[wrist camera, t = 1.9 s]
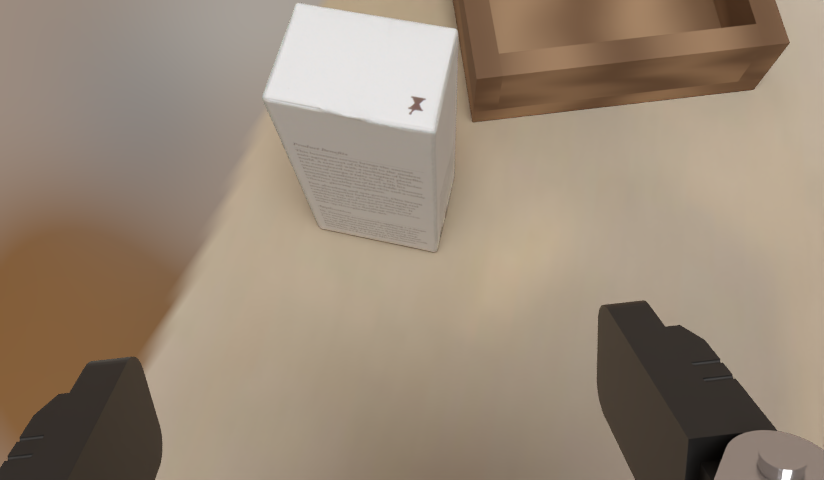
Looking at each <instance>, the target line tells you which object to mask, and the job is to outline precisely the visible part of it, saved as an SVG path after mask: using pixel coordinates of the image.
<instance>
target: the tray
mask: <svg viewBox="0 0 824 480" xmlns="http://www.w3.org/2000/svg"><path fill="white" fill-rule="evenodd" d="M453 3H454V10H455V16H456V22H457V28H458V34H459V41H460V47H461V53H462V59H463V66H464V72H465V78H466V84H467V91H468V97H469V103H470V109H471V115H472V122H478V121H486V120H495V119H503V118H512V117H521V116H529V115H538V114H546V113H555V112H564V111H572V110H581V109H589V108H598V107H607V106H615V105H624V104H632V103H641V102H650V101H658V100H667V99H675V98H684V97H693V96H701V95H710V94H718V93H727V92H736V91H744V90H753V89H754V88H755V87H756V86H757V84H758V83H759V82H760V81H761V79H762V78H763V77H764V75H765V74H766V73H767V72H768V70H769V69H770V68H771V66H772V65H773V64H774V62H775V61H776V60H777V59H778V57H779V56H780V55H781V53H782V52H783V51H784V50H785V48H786V47H787V46H788V44H789V43H790V42H789V39H788V36H787V34H786V31H785V28H784V25H783V22H782V19H781V16H780V13H779V10H778V7H777V4H776V1H775V0H453Z"/></svg>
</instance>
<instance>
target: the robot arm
mask: <svg viewBox="0 0 824 480" xmlns="http://www.w3.org/2000/svg"><path fill="white" fill-rule="evenodd" d="M597 388H598V395H599V400H600V404H601V408H602V411H603V414H604V416H605V418H606V420H607V422H608V424H609V426H610V428H611V431H612V433H613V435H614V437H615V439H616V441H617V443H618V445H619V447H620V449H621V451H622V453H623V455H624V457H625V459H626V462H627V464H628V466H629V468H630V470H631V472H632V474H633V476H634V478H635V480H824V450H823V449H821V448H820V447H818V446H817V445H815V444H813V443H812V442H810V441H808V440H806V439H803V438H801V437H798V436H795V435H792V434H789V433H784V432H780V431H777V430H776V428H775V427H774V426H773V425H772V423H771V422H770V421H769V420H768V418H767V417H766V416H765V415H764V413H763V412H762V411H761V410H760V408H759V407H758V406H757V405H756V403H755V402H754V401H753V400H752V398H751V397H750V396H749V395H748V393H747V392H746V391H745V390H744V388H743V387H742V386H741V385H740V383H739V382H738V381H737V380H736V379H733V376H732V373H731V372H730V371H729V370H728V368H727V367H726V366H725V365H724V363H721V362H720V358H719V357H718V356H717V355H716V353H715V352H714V351H713V350H712V348H711V347H710V346H709V345H708V343H707V342H706V341H705V340H704V339H702V338H700V337H699V336H697V335H695V334H694V333H692V332H690V331H689V330H687V329H685V328H684V327H682V326H680V325H677V326H668V327H665V326H664V324H663V323H662V322H661V320H660V319H659V318H658V316H657V315H656V314H655V312H654V311H653V309H652V308H651V307H650V305H649V304H648V303H647V302H646V301H635V302H626V303H617V304H608V305H602V306H601V307H600V310H599V315H598V352H597ZM161 458H162V434H161V429H160V425H159V422H158V418H157V415H156V411H155V408H154V405H153V401H152V398H151V394H150V391H149V388H148V384H147V381H146V377H145V374H144V371H143V368H142V365H141V363H140V361H139V360H138V359H137V358H136V357H126V358H117V359H108V360H99V361H91V362H89V363H88V364H87V365H86V366H85V368H84V369H83V371H82V373H81V374H80V376H79V378H78V379H77V381H76V383H75V384H74V386H73V388H72V390H71V391H70V393H65V394H58V395H57V396H56V397H55V398H54V399H52V400H51V401H50V402H49V403H48V404H47V405H45V406H44V407H43V408H42V409H41V410H40V411H38V412H37V413H36V414H35V415H34V416H33V417H32V419H31V421H30V422H29V424H28V425H27V427H26V428H25V430H24V431H23V433H22V435H21V436H20V442H16V444H15V446H14V447H13V449H12V450H11V452H10V453H9V455H8V461H4V463H3V464H2V466H1V467H0V480H155V478H156V475H157V472H158V469H159V467H160V463H161Z"/></svg>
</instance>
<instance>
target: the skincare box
mask: <svg viewBox="0 0 824 480" xmlns="http://www.w3.org/2000/svg"><path fill="white" fill-rule="evenodd" d="M457 73H458V31H457V30H456V29H455V28H449V27H442V26H436V25H430V24H423V23H418V22H412V21H406V20H399V19H393V18H387V17H381V16H374V15H368V14H362V13H355V12H349V11H343V10H337V9H331V8H325V7H319V6H313V5H308V4H303V3H296V5H295V8H294V11H293V14H292V16H291V19H290V22H289V24H288V27H287V30H286V33H285V35H284V38H283V41H282V43H281V47H280V49H279V52H278V55H277V57H276V60H275V63H274V65H273V68H272V71H271V74H270V76H269V79H268V82H267V85H266V88H265V90H264V93H263V96H262V100H263V102H264V104H265V107H266V109H267V111H268V113H269V115H270V117H271V119H272V121H273V123H274V126H275V128H276V130H277V133H278V135H279V137H280V139H281V142H282V144H283V146H284V148H285V150H286V153H287V155H288V157H289V160H290V162H291V164H292V167H293V169H294V171H295V173H296V176H297V178H298V180H299V183H300V185H301V187H302V190H303V192H304V194H305V197H306V199H307V201H308V203H309V206H310V208H311V210H312V212H313V215H314V217H315V219H316V222H317V224H318V226H319V227H320V228H321V229H326V230H331V231H336V232H341V233H345V234H350V235H355V236H360V237H365V238H369V239H374V240H379V241H384V242H389V243H393V244H398V245H404V246H408V247H413V248H418V249H422V250H427V251H431V252H436V251H437V250H438V245H439V241H440V237H441V233H442V229H443V225H444V221H445V216H446V212H447V207H448V203H449V198H450V194H451V189H452V185H453V181H454V173H455V141H456V105H457Z"/></svg>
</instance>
